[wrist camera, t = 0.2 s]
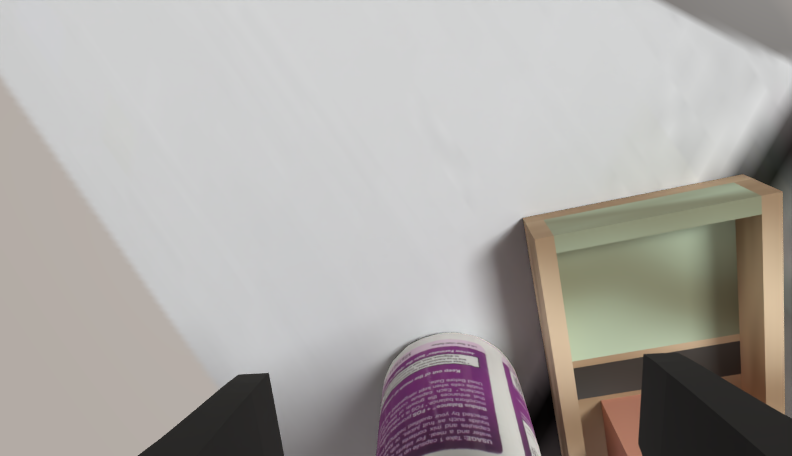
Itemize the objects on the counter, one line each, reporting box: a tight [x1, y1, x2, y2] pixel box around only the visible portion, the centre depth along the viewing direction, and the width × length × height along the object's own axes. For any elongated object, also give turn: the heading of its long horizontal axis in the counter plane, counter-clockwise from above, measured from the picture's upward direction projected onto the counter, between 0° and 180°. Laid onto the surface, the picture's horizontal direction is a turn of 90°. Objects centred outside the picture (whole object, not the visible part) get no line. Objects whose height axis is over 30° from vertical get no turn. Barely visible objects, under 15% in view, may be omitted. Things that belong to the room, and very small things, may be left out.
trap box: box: [523, 174, 785, 456], centre depth 21 cm, size 16×7×2 cm, turn 13°
